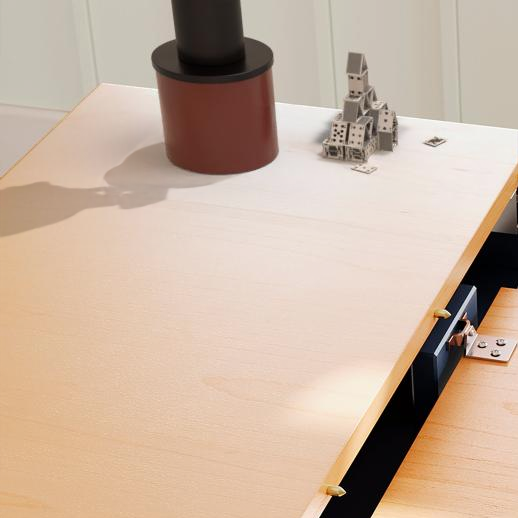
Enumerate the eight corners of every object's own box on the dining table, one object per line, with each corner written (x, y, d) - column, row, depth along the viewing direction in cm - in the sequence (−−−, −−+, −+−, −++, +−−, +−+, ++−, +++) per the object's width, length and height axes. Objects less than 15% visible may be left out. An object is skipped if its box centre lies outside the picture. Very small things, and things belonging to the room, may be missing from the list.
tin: (158, 176, 123) (145, 76, 118) (169, 129, 130) (157, 33, 125) (279, 175, 124) (270, 76, 119) (283, 129, 131) (275, 34, 126)
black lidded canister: (173, 66, 119) (160, -41, 114) (179, 42, 124) (166, -63, 119) (244, 67, 120) (234, -40, 115) (248, 42, 124) (238, -62, 119)
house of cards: (416, 180, 124) (414, 86, 120) (313, 165, 126) (307, 72, 121) (449, 137, 131) (448, 47, 127) (351, 124, 133) (346, 34, 128)
